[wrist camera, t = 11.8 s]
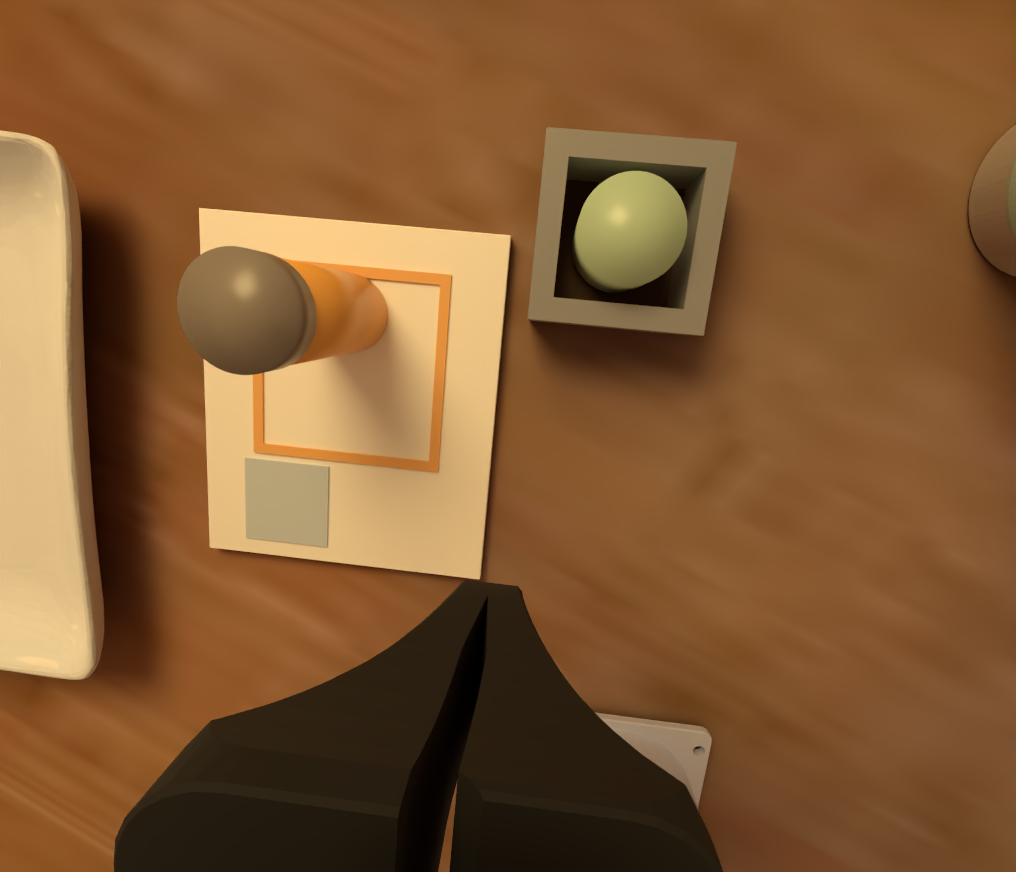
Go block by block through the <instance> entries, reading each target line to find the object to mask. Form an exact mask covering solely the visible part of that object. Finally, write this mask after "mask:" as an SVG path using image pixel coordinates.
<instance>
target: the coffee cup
mask: <svg viewBox="0 0 1016 872" xmlns="http://www.w3.org/2000/svg"><path fill="white" fill-rule="evenodd" d="M969 223H970V228H971V232H972V236H973V238H974V241H975V243H976V245H977V247H978V248H979V250H980V251H981V253H982V254H983V256H984V257H985V258H986V259H987V260H988V261H989V262H990V263H991V264H992V265H994V266H995V267H996V268H998V269H999V270H1001V271H1003V272H1005V273H1007V274H1009V275H1011V276H1014V277H1016V125H1014V126H1013V127H1012V128H1011V129H1009V130H1008V131H1007V132H1006V133H1005V134H1004V135H1003V136H1002V137H1001V138H1000V139H999V140H998V141H997V142H996V143H995V144H994V146H993V147H992V148H991V150H990V151H989V152H988V154H987V155H986V157H985V158H984V160H983V162H982V163H981V165H980V167H979V169H978V171H977V174H976V176H975V179H974V182H973V185H972V189H971V193H970V198H969Z"/></svg>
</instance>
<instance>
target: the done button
mask: <svg viewBox="0 0 1016 872" xmlns="http://www.w3.org/2000/svg"><path fill="white" fill-rule="evenodd" d="M686 235H687V215H686V210H685V207H684V204H683V202H682V200H681V197H680V196H679V194H678V193H677V191H676V190H675V189H674V188H673V186H672V185H670V184H669V183H668V182H667V181H666V180H664V179H663V178H661V177H659V176H657V175H655V174H652V173H649V172H644V171H627V172H622V173H619V174H616V175H614V176H611V177H610V178H608V179H606V180H605V181H603V182H602V183H601V184H599V185H598V186H597V187H596V188H595V189H594V190H593V191H592V193H591V194H590V195H589V196H588V198H587V200H586V201H585V203H584V205H583V207H582V210H581V213H580V216H579V219H578V222H577V225H576V228H575V231H574V234H573V239H572V256H573V261H574V264H575V266H576V268H577V270H578V272H579V274H580V275H581V277H582V278H583V279H584V280H585V281H586V282H587V283H588V284H590V285H591V286H593V287H594V288H596V289H598V290H601V291H604V292H608V293H623V292H627V291H631V290H633V289H636V288H638V287H640V286H642V285H644V284H646V283H648V282H650V281H652V280H654V279H656V278H658V277H660V276H661V275H662V274H664V273H665V272H666V271H667V270H668V269H669V268H670V267H671V266H672V265H673V264H674V263H675V261H676V260H677V258H678V257H679V255H680V253H681V251H682V249H683V246H684V243H685V239H686Z"/></svg>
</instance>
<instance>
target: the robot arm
mask: <svg viewBox="0 0 1016 872" xmlns="http://www.w3.org/2000/svg"><path fill="white" fill-rule="evenodd" d="M711 744H712V738H711V736H710V733H709V731H708V730H707V729H706V728H705V727H701V726H695V725H687V724H680V723H672V722H664V721H656V720H649V719H641V718H633V717H626V716H618V715H610V714H603V713H595V712H594V711H593V710H592V709H591V708H590V707H589V706H588V705H587V704H586V703H585V702H584V701H583V700H582V699H581V698H580V696H579V695H578V694H577V693H576V692H575V690H574V689H573V688H572V686H571V685H570V684H569V683H568V681H567V680H566V679H565V677H564V676H563V674H562V673H561V672H560V670H559V669H558V667H557V666H556V664H555V663H554V661H553V659H552V658H551V656H550V654H549V653H548V651H547V650H546V648H545V646H544V644H543V642H542V641H541V639H540V637H539V635H538V633H537V631H536V629H535V627H534V625H533V623H532V620H531V618H530V616H529V613H528V611H527V608H526V605H525V602H524V599H523V595H522V591H521V590H520V588H519V587H518V586H511V585H503V584H494V583H486V582H478V581H469V580H465V581H464V582H462V583H461V584H460V585H459V586H458V587H457V588H456V589H455V591H454V592H453V593H452V594H451V595H450V596H449V597H448V598H447V599H446V600H445V601H444V602H443V603H442V604H441V605H440V606H439V607H438V608H437V609H436V610H434V611H433V612H432V613H431V614H430V615H429V616H428V617H427V618H426V619H425V620H424V621H422V622H421V623H420V624H419V625H418V626H416V627H415V628H414V629H413V630H411V631H410V632H409V633H408V634H406V635H405V636H404V637H403V638H401V639H400V640H399V641H397V642H396V643H395V644H393V645H392V646H390V647H389V648H388V649H386V650H385V651H383V652H381V653H380V654H378V655H376V656H375V657H373V658H372V659H370V660H368V661H367V662H365V663H363V664H361V665H359V666H357V667H355V668H353V669H351V670H349V671H347V672H345V673H343V674H341V675H339V676H337V677H335V678H333V679H331V680H330V681H327V682H325V683H323V684H320V685H318V686H316V687H313V688H311V689H309V690H306V691H304V692H301V693H298V694H296V695H293V696H290V697H288V698H285V699H282V700H280V701H277V702H274V703H271V704H268V705H264V706H261V707H258V708H254V709H251V710H247V711H244V712H241V713H237V714H234V715H230V716H227V717H224V718H220V719H216V720H212V721H210V722H209V723H208V724H207V725H206V726H205V727H204V728H203V729H202V730H201V731H200V733H199V734H198V735H197V736H196V737H195V738H194V739H193V740H192V741H191V742H190V743H189V744H188V745H187V746H186V747H185V748H184V749H183V750H182V751H181V753H180V754H179V755H178V756H177V757H176V758H175V760H174V761H173V762H172V763H171V764H170V765H169V766H168V768H167V769H166V770H165V771H164V772H163V774H162V775H161V776H160V777H159V778H158V779H157V781H156V782H155V783H154V784H153V785H152V786H151V788H150V789H149V790H148V791H147V792H146V794H145V795H144V796H143V797H142V798H141V799H140V801H139V802H138V803H137V804H136V805H135V806H134V808H133V809H132V810H131V811H130V812H129V813H128V815H127V816H126V817H125V819H124V821H123V823H122V825H121V828H120V830H119V832H118V835H117V837H116V839H115V852H114V872H438V869H439V863H440V858H441V852H442V846H443V841H444V835H445V829H446V824H447V819H448V815H449V811H450V806H451V802H452V798H453V794H454V790H455V787H456V783H457V794H456V805H455V816H454V828H453V839H452V850H451V862H450V872H723V871H722V867H721V864H720V861H719V858H718V855H717V853H716V850H715V847H714V845H713V842H712V840H711V837H710V835H709V833H708V831H707V829H706V827H705V824H704V822H703V820H702V818H701V816H700V813H699V810H698V806H699V801H700V796H701V792H702V787H703V782H704V777H705V773H706V768H707V763H708V758H709V754H710V749H711ZM697 746H701V748H699V749H694V748H695V747H697ZM457 779H458V782H457Z"/></svg>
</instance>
